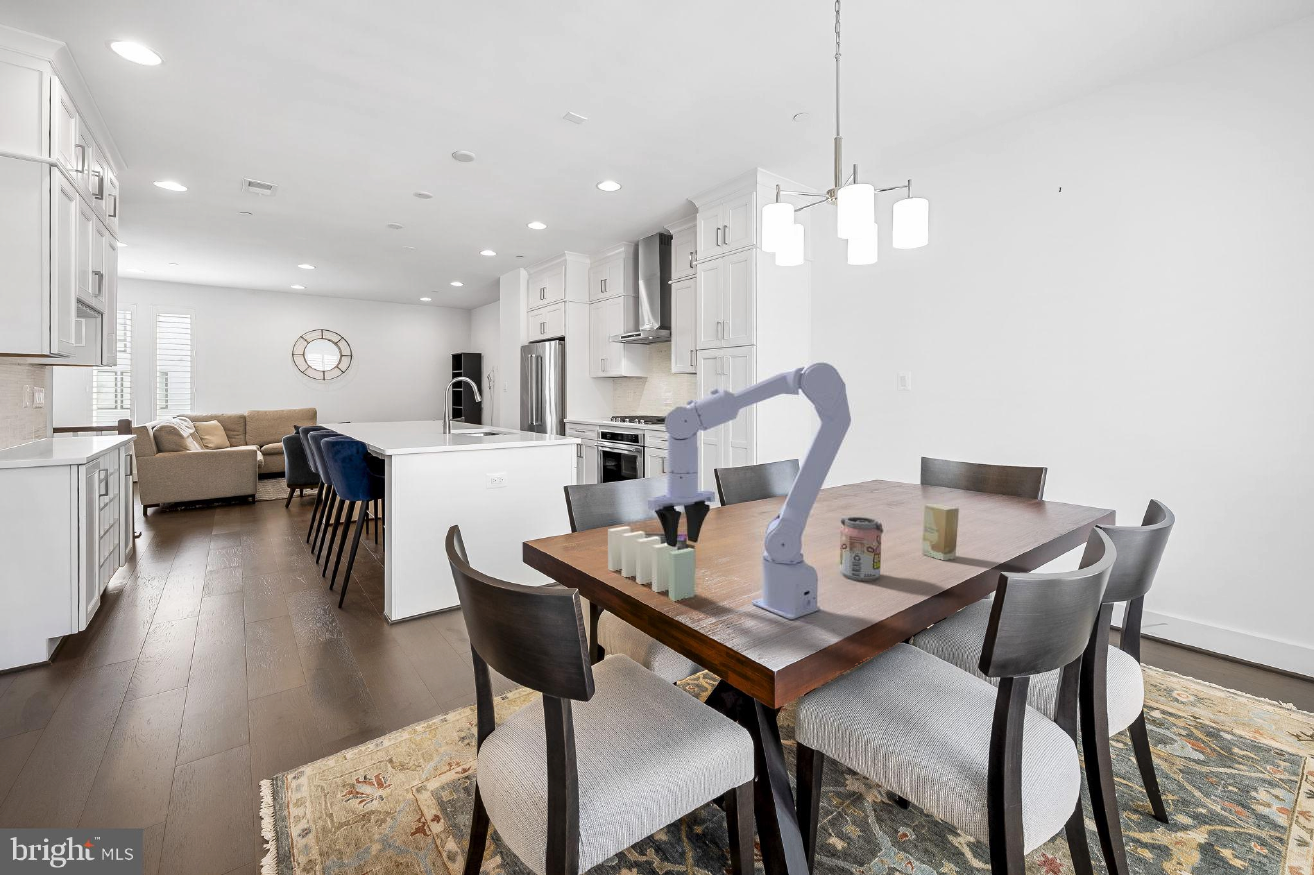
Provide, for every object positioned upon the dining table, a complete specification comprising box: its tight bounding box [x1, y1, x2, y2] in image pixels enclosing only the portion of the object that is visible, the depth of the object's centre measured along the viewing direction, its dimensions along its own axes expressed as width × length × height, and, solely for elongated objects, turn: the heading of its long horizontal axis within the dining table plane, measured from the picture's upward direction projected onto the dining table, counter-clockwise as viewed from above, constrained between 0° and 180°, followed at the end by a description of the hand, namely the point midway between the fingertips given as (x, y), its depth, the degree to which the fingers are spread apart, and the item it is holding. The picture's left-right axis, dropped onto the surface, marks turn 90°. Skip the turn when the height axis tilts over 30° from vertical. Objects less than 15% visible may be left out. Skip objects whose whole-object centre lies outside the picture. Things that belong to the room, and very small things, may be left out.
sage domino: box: [668, 547, 696, 603], centre depth 105 cm, size 2×5×9 cm, turn 127°
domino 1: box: [607, 525, 632, 572], centre depth 123 cm, size 2×5×9 cm, turn 127°
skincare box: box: [921, 503, 960, 561], centre depth 132 cm, size 6×4×12 cm
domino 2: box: [621, 530, 646, 578], centre depth 119 cm, size 2×5×9 cm, turn 126°
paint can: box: [839, 516, 884, 582], centre depth 119 cm, size 9×8×12 cm
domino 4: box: [651, 543, 677, 593], centre depth 110 cm, size 2×5×9 cm, turn 127°
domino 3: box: [635, 536, 661, 585], centre depth 114 cm, size 2×5×9 cm, turn 126°
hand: (682, 543), depth 105 cm, fingers open, 4 cm apart
